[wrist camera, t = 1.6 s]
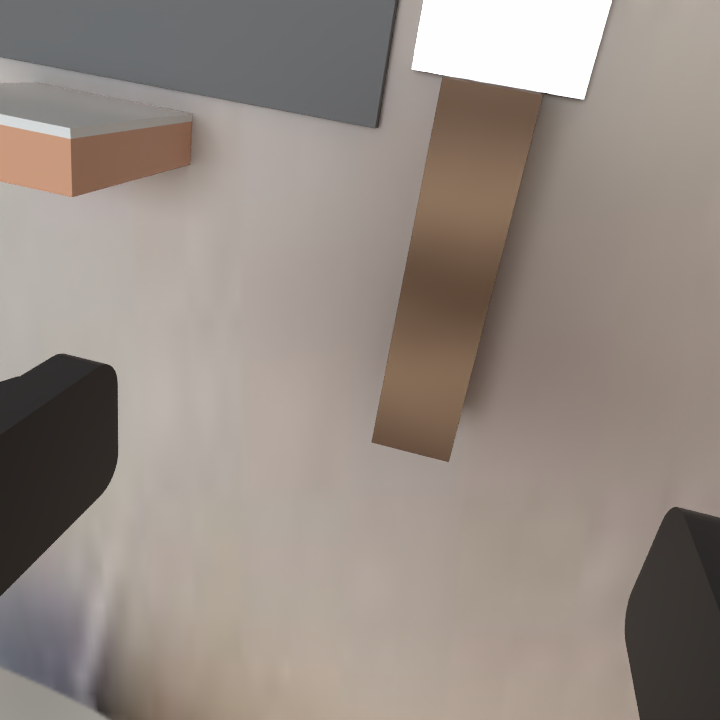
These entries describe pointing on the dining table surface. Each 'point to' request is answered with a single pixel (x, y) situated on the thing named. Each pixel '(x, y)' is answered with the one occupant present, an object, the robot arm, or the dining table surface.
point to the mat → (219, 48)
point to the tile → (85, 139)
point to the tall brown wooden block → (472, 192)
